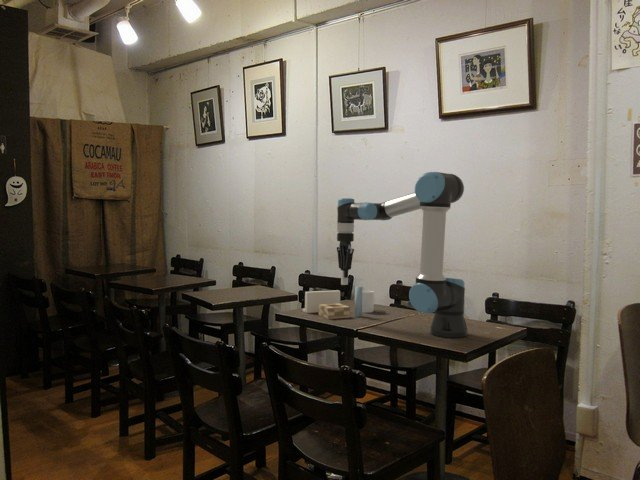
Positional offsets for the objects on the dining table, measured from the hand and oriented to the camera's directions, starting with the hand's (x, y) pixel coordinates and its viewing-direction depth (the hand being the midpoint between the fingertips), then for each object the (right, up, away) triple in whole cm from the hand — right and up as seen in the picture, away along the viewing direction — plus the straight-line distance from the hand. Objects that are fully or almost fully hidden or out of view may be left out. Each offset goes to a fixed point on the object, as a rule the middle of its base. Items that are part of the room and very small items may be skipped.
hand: (344, 284), depth 240 cm
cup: (+13, -16, +26) cm, 33 cm away
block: (-5, -16, +10) cm, 19 cm away
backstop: (-10, -15, +23) cm, 30 cm away
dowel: (+7, -16, +11) cm, 21 cm away
